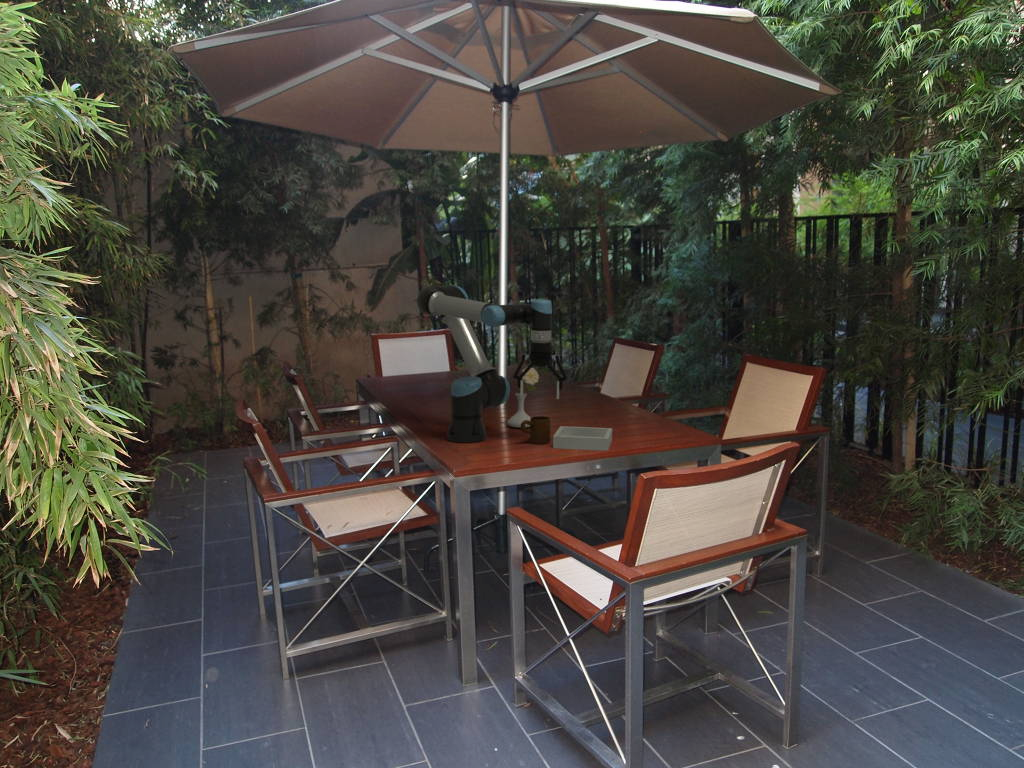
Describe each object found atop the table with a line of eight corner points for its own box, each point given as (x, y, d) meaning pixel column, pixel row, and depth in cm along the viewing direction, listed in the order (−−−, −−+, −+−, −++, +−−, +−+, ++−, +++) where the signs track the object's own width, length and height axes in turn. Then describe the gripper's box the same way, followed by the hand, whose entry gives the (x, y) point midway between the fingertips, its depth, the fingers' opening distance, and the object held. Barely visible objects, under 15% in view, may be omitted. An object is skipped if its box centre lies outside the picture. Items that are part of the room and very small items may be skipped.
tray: (553, 448, 294) (553, 436, 293) (560, 437, 311) (560, 426, 311) (607, 450, 290) (608, 438, 289) (612, 439, 307) (612, 428, 307)
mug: (525, 446, 296) (525, 421, 295) (516, 442, 303) (516, 418, 302) (553, 443, 302) (554, 418, 300) (544, 439, 308) (544, 415, 307)
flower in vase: (510, 430, 325) (510, 369, 321) (504, 424, 336) (504, 365, 332) (541, 428, 327) (541, 368, 323) (535, 423, 338) (535, 364, 334)
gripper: (506, 341, 295) (505, 398, 299) (574, 343, 293) (572, 400, 296) (508, 339, 303) (507, 394, 306) (574, 341, 300) (573, 397, 304)
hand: (539, 397), depth 301 cm, fingers open, 13 cm apart
